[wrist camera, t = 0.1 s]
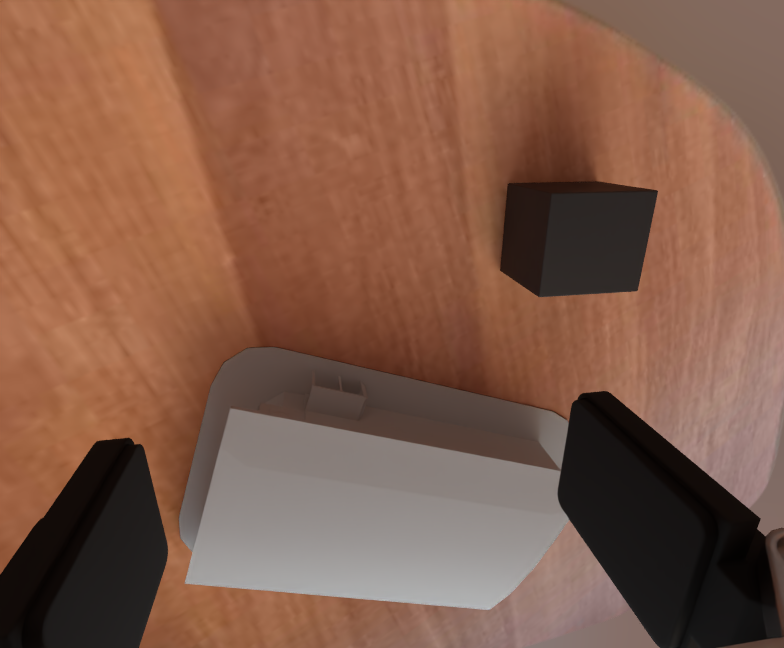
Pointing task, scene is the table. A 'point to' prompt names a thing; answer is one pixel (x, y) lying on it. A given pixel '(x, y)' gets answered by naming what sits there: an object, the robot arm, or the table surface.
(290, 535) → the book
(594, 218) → the box
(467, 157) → the table surface
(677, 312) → the table surface
